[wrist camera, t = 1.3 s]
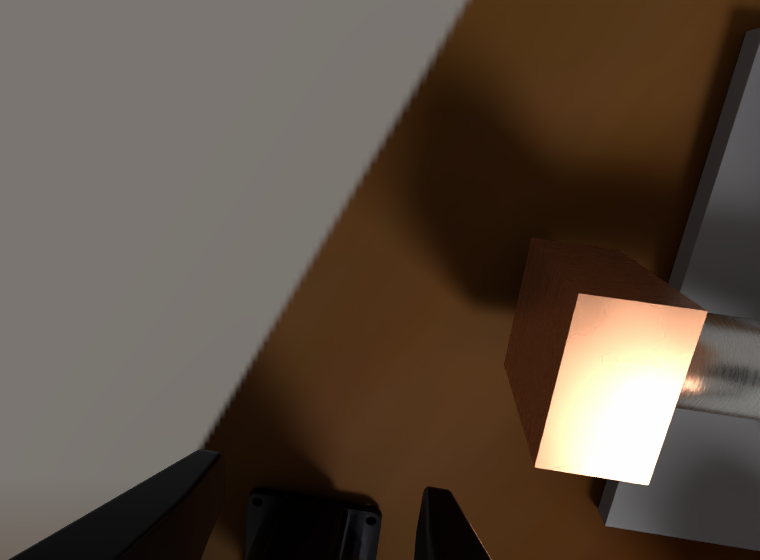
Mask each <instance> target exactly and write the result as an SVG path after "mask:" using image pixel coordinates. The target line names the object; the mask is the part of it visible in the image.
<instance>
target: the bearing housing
mask: <svg viewBox="0 0 760 560" xmlns="http://www.w3.org/2000/svg"><path fill="white" fill-rule="evenodd" d="M668 284H669V285H671V286H672V287H674V288H675V289H676V290H678V291H679V292H681V293H682V294H684V295H685V296H687V297H688V298H689V299H691V300H692V301H694V302H695V303H697V304H698V305H700V306H701V307H702V308H704V309H705V310H707V311H708V313H715V314H722V315H729V316H736V317H743V318H751V319H758V320H760V28H757V29H753V30H750V31H746V34H745V37H744V41H743V44H742V47H741V50H740V53H739V57H738V60H737V63H736V66H735V70H734V73H733V76H732V79H731V82H730V86H729V89H728V92H727V95H726V99H725V102H724V105H723V108H722V111H721V115H720V118H719V121H718V124H717V128H716V131H715V134H714V137H713V140H712V144H711V147H710V150H709V153H708V156H707V160H706V163H705V166H704V169H703V173H702V176H701V179H700V182H699V185H698V189H697V192H696V195H695V198H694V202H693V205H692V208H691V211H690V214H689V218H688V221H687V224H686V227H685V231H684V234H683V237H682V240H681V243H680V247H679V250H678V253H677V256H676V259H675V263H674V266H673V269H672V272H671V276H670V279H669V282H668ZM598 510H599V513H600V515H601V517H602V520H603V522H604V525H605V526H609V527H615V528H622V529H628V530H634V531H640V532H646V533H652V534H658V535H664V536H670V537H677V538H683V539H689V540H695V541H701V542H707V543H713V544H719V545H725V546H732V547H738V548H744V549H750V550H756V551H760V421H759V420H752V419H746V418H739V417H732V416H725V415H719V414H712V413H705V412H699V411H692V410H685V409H679V408H675V409H674V412H673V415H672V417H671V420H670V423H669V426H668V429H667V432H666V435H665V438H664V441H663V444H662V447H661V450H660V452H659V455H658V458H657V461H656V464H655V467H654V470H653V473H652V476H651V479H650V482H649V484H648V485H644V484H638V483H631V482H625V481H619V480H612V479H607V482H606V485H605V488H604V491H603V494H602V498H601V501H600V504H599V507H598Z"/></svg>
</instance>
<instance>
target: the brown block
mask: <svg viewBox="0 0 760 560" xmlns="http://www.w3.org/2000/svg"><path fill="white" fill-rule="evenodd" d="M504 366H505V369H506V373H507V376H508V379H509V383H510V386H511V389H512V393H513V396H514V400H515V403H516V406H517V410H518V413H519V416H520V420H521V423H522V426H523V430H524V433H525V437H526V440H527V443H528V447H529V450H530V453H531V457H532V460H533V463H534V467H536V468H543V469H549V470H555V471H562V472H568V473H574V474H581V475H587V476H593V477H600V478H606V479H612V480H619V481H625V482H631V483H638V484H644V485H648V484H649V482H650V479H651V476H652V473H653V470H654V467H655V464H656V461H657V458H658V455H659V452H660V450H661V447H662V444H663V441H664V438H665V435H666V432H667V429H668V426H669V423H670V420H671V417H672V415H673V412H674V409H675V408H679V409H685V410H692V411H699V412H705V413H712V414H719V415H725V416H732V417H739V418H746V419H752V420H759V421H760V320H758V319H751V318H743V317H736V316H729V315H722V314H715V313H708V311H707V310H705V309H704V308H702V307H701V306H700V305H698V304H697V303H695V302H694V301H692V300H691V299H689V298H688V297H687V296H685V295H684V294H682V293H681V292H679V291H678V290H676V289H675V288H674V287H672V286H671V285H669V284H668V283H666V282H665V281H663V280H662V279H661V278H659V277H658V276H656V275H655V274H653V273H652V272H650V271H649V270H648V269H646V268H645V267H643V266H642V265H640V264H639V263H637V262H636V261H635V260H633V259H632V258H630V257H629V256H627V255H626V254H625V253H623V252H622V251H620V250H619V249H614V248H607V247H599V246H592V245H584V244H576V243H569V242H561V241H554V240H546V239H539V238H531V241H530V246H529V250H528V255H527V260H526V264H525V269H524V274H523V278H522V283H521V288H520V292H519V297H518V302H517V306H516V311H515V316H514V320H513V325H512V330H511V334H510V339H509V344H508V348H507V353H506V358H505V362H504Z"/></svg>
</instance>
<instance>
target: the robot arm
mask: <svg viewBox="0 0 760 560" xmlns="http://www.w3.org/2000/svg"><path fill="white" fill-rule="evenodd" d="M224 484H225V458H224V455H223V454H222V453H221V452H216V451H210V450H204V449H203V450H197V451H195V452H194V453H192V454H190V455H188V456H187V457H185V458H183V459H181V460H180V461H178V462H176V463H175V464H173V465H171V466H169V467H168V468H166V469H164V470H162V471H161V472H159V473H157V474H156V475H154V476H152V477H151V478H149V479H147V480H145V481H143V482H142V483H140V484H138V485H137V486H135V487H133V488H132V489H130V490H128V491H126V492H125V493H123V494H121V495H119V496H118V497H116V498H114V499H112V500H111V501H109V502H107V503H105V504H104V505H102V506H101V507H99V508H97V509H95V510H93V511H92V512H90V513H88V514H86V515H85V516H83V517H81V518H80V519H78V520H76V521H74V522H73V523H71V524H69V525H67V526H66V527H64V528H62V529H61V530H59V531H57V532H55V533H54V534H52V535H50V536H48V537H47V538H45V539H43V540H41V541H40V542H38V543H37V544H35V545H33V546H31V547H29V548H28V549H26V550H24V551H22V552H21V553H19V554H17V555H16V556H14V557H12V558H10V559H9V560H201V557H202V555H203V552H204V550H205V547H206V544H207V542H208V539H209V537H210V534H211V532H212V529H213V527H214V524H215V522H216V519H217V517H218V514H219V512H220V509H221V506H222V503H223V498H224ZM256 498H260V499H261V500H257V499H256ZM368 517H373V518H375V519H370V518H368ZM381 520H382V513H381V511H380V510H379V509H378V508H376V507H373V506H367V505H361V504H355V503H349V502H343V501H337V500H331V499H325V498H319V497H313V496H307V495H301V494H295V493H289V492H283V491H277V490H271V489H265V488H255V489H253V490H252V491H251V492H250V495H249V497H248V500H247V520H246V545H245V560H376V555H377V548H378V541H379V534H380V527H381ZM414 560H492V559H491V557H490V556H489V554H488V552H487V551H486V549H485V547H484V546H483V544H482V542H481V541H480V539H479V537H478V536H477V534H476V532H475V531H474V529H473V527H472V526H471V524H470V522H469V521H468V519H467V517H466V516H465V514H464V513H463V511H462V509H461V508H460V506H459V504H458V503H457V501H456V499H455V498H454V496H453V494H452V493H451V492H450V491H449V490H447V489H442V488H436V487H430V486H428V487H426V488H425V489H424V492H423V497H422V503H421V508H420V514H419V520H418V525H417V532H416V542H415V556H414Z"/></svg>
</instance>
